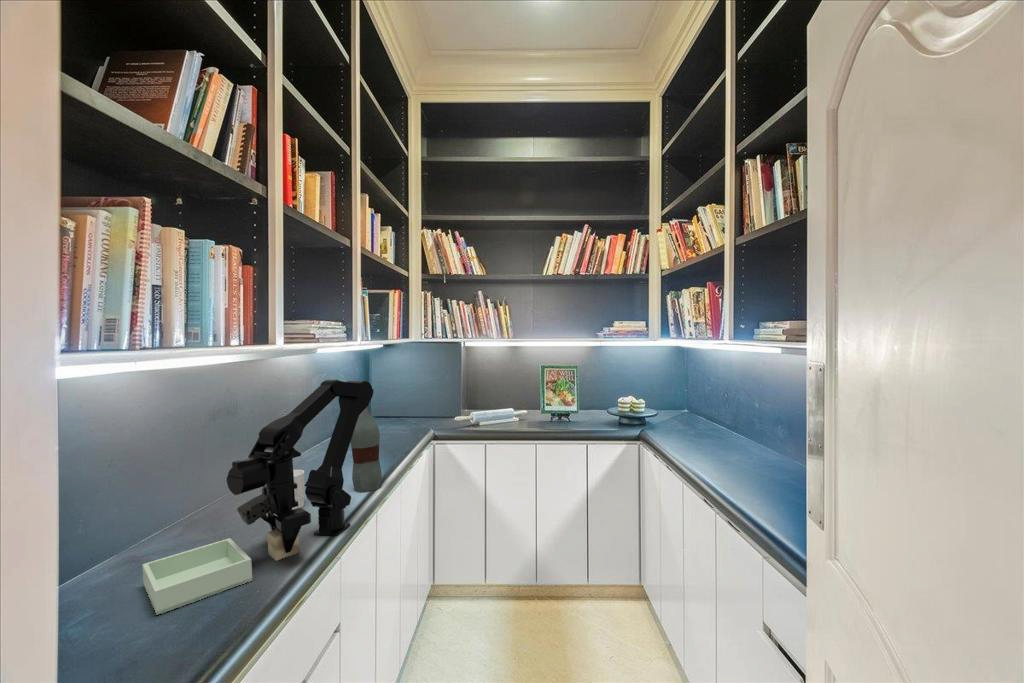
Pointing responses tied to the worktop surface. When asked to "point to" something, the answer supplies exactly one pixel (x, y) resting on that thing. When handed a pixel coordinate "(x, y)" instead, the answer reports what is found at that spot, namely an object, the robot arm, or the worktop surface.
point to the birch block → (279, 545)
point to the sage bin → (195, 574)
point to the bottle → (366, 454)
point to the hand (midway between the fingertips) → (283, 548)
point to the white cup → (299, 487)
